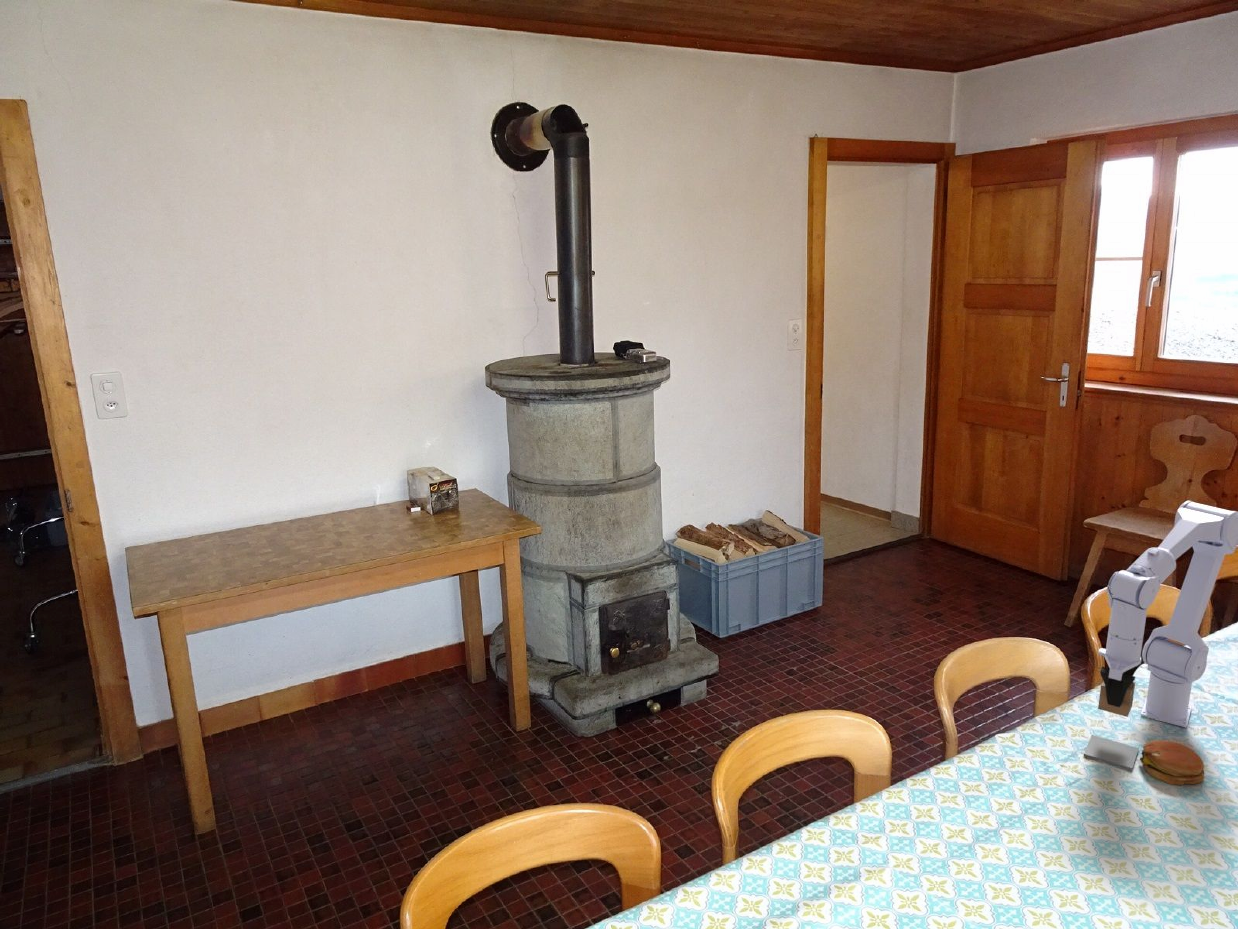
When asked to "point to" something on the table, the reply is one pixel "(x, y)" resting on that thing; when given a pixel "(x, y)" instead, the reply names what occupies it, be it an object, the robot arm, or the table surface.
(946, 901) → the table surface
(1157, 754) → the burger
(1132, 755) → the slate coaster
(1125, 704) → the walnut cube
